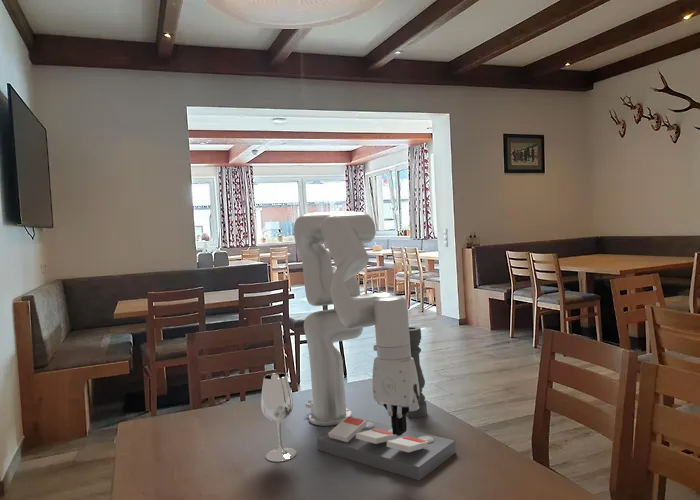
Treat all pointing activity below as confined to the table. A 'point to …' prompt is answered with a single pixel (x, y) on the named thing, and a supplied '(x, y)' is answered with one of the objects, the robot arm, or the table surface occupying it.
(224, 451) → the table surface
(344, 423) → the rocker
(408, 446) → the rocker
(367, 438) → the rocker
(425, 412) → the candle holder
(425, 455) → the power strip
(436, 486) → the table surface
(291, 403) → the wineglass
